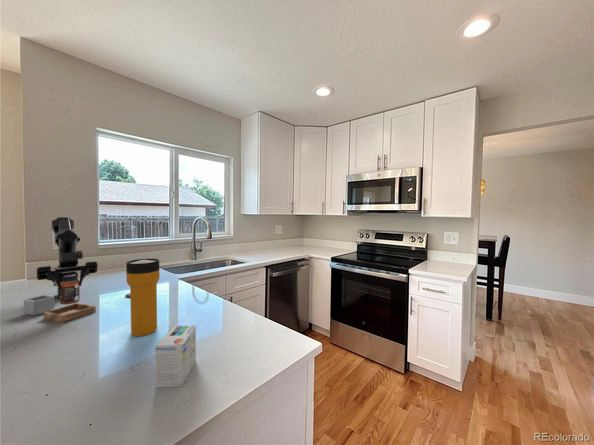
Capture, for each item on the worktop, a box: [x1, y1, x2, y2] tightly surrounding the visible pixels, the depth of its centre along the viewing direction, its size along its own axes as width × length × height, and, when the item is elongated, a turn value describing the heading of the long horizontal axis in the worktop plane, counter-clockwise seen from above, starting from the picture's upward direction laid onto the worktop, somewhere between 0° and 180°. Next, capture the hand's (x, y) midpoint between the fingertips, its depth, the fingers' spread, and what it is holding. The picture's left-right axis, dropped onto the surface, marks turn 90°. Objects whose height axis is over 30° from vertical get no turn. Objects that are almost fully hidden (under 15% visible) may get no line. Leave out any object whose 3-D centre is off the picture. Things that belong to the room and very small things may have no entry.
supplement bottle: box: [59, 274, 81, 306], centre depth 102 cm, size 6×6×11 cm
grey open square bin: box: [23, 294, 56, 316], centre depth 105 cm, size 7×7×6 cm
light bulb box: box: [154, 325, 197, 388], centre depth 66 cm, size 11×7×11 cm, turn 5°
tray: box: [43, 302, 96, 324], centre depth 102 cm, size 12×12×2 cm
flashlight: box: [125, 258, 160, 337], centre depth 89 cm, size 10×26×10 cm
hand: (70, 287), depth 101 cm, fingers closed on supplement bottle, 6 cm apart
